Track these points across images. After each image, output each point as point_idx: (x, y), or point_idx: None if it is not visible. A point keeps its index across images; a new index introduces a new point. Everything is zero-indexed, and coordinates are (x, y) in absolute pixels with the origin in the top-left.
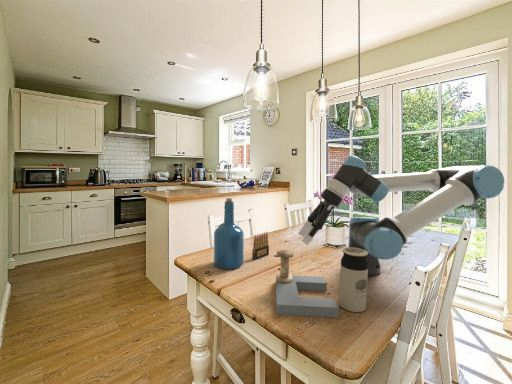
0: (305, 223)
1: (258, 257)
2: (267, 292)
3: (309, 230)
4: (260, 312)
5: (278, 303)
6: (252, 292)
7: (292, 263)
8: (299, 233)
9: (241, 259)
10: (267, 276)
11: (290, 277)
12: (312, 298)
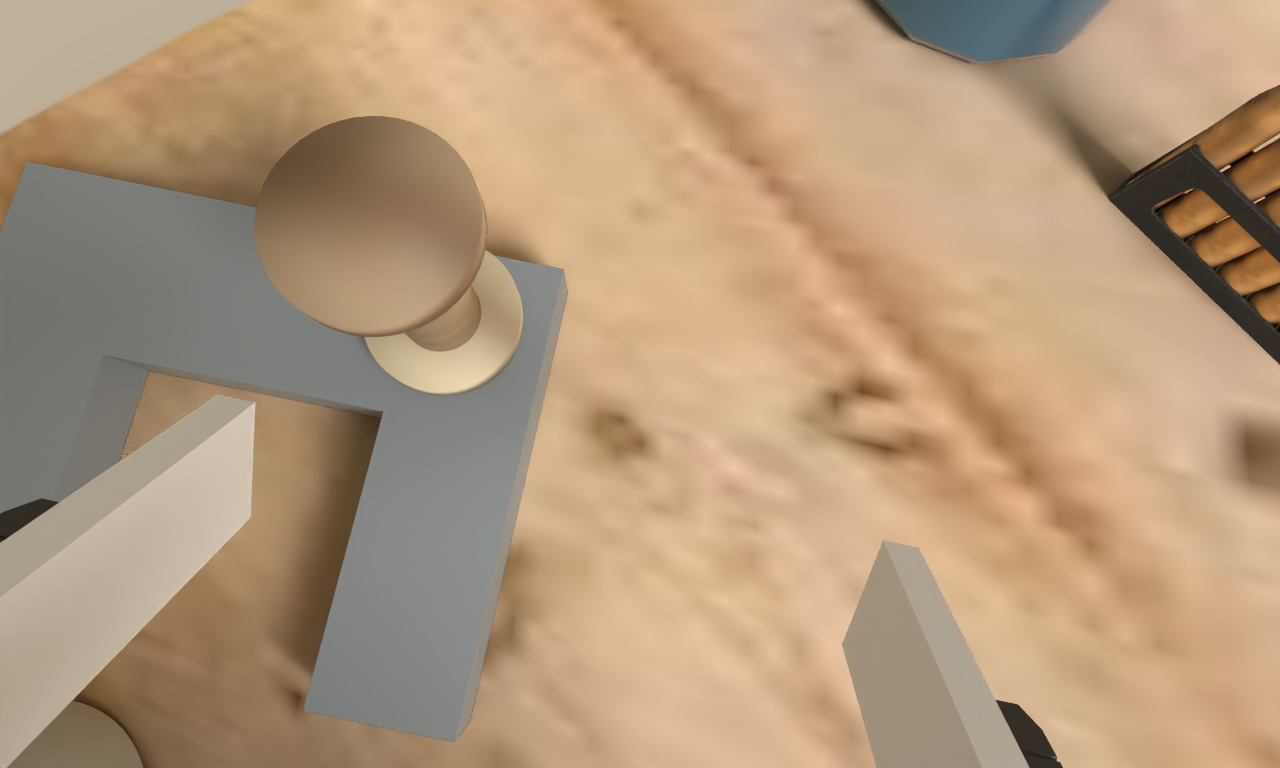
0: (964, 740)
1: (1158, 231)
2: None
3: (32, 529)
4: (125, 99)
5: (38, 175)
6: (412, 86)
7: (1023, 572)
8: (881, 566)
9: (946, 4)
10: (696, 247)
11: (417, 366)
12: (46, 455)
